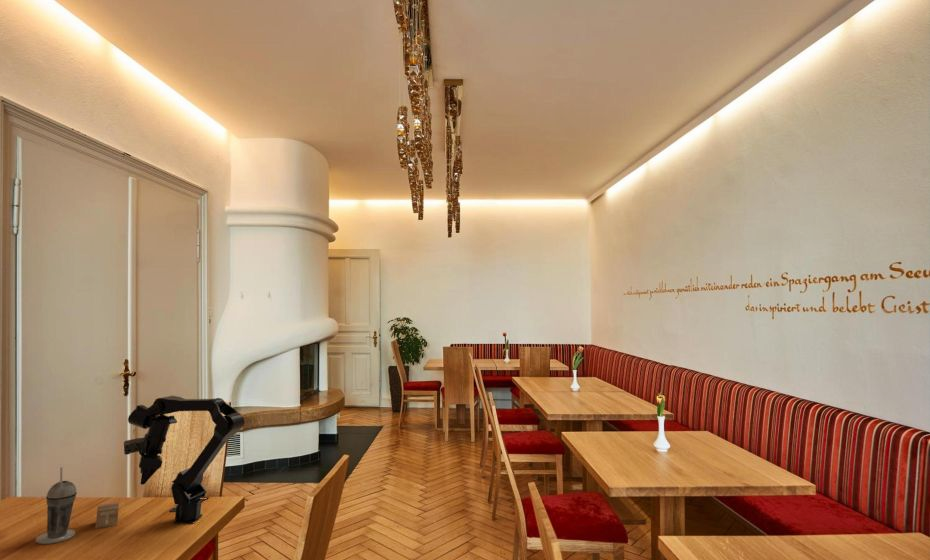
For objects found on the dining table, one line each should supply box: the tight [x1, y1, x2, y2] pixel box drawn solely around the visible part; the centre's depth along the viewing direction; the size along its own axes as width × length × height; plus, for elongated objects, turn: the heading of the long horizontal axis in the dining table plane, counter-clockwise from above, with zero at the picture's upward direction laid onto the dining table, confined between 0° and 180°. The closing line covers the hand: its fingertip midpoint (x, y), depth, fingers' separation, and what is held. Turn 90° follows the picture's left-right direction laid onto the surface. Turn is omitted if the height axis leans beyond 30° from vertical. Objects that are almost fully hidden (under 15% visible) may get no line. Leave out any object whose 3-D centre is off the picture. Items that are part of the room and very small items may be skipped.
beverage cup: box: [45, 466, 78, 538], centre depth 149 cm, size 7×7×20 cm
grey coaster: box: [35, 528, 76, 545], centre depth 148 cm, size 9×9×1 cm
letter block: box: [95, 501, 120, 529], centre depth 159 cm, size 6×6×6 cm
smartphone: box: [168, 496, 210, 513], centre depth 178 cm, size 7×1×15 cm
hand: (142, 478), depth 167 cm, fingers open, 9 cm apart
